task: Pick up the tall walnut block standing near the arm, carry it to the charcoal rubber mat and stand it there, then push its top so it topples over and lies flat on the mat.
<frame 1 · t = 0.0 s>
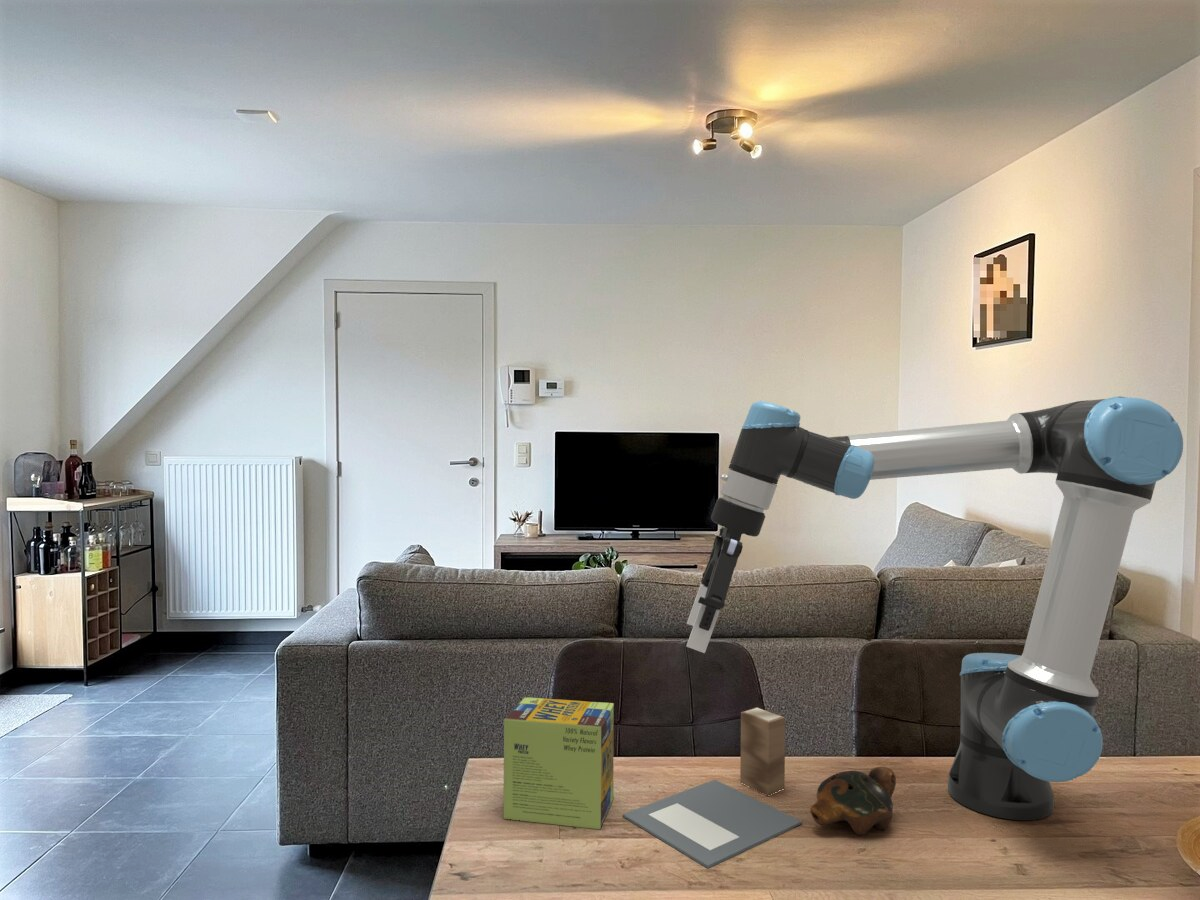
hand: (695, 637, 118), 28 cm above the table, tool tilted 20°, fingers open, 13 cm apart
mat: (711, 820, 119), on the table
decorative turtle: (854, 826, 118), on the table
walnut block: (762, 786, 131), on the table
protein box: (560, 810, 123), on the table
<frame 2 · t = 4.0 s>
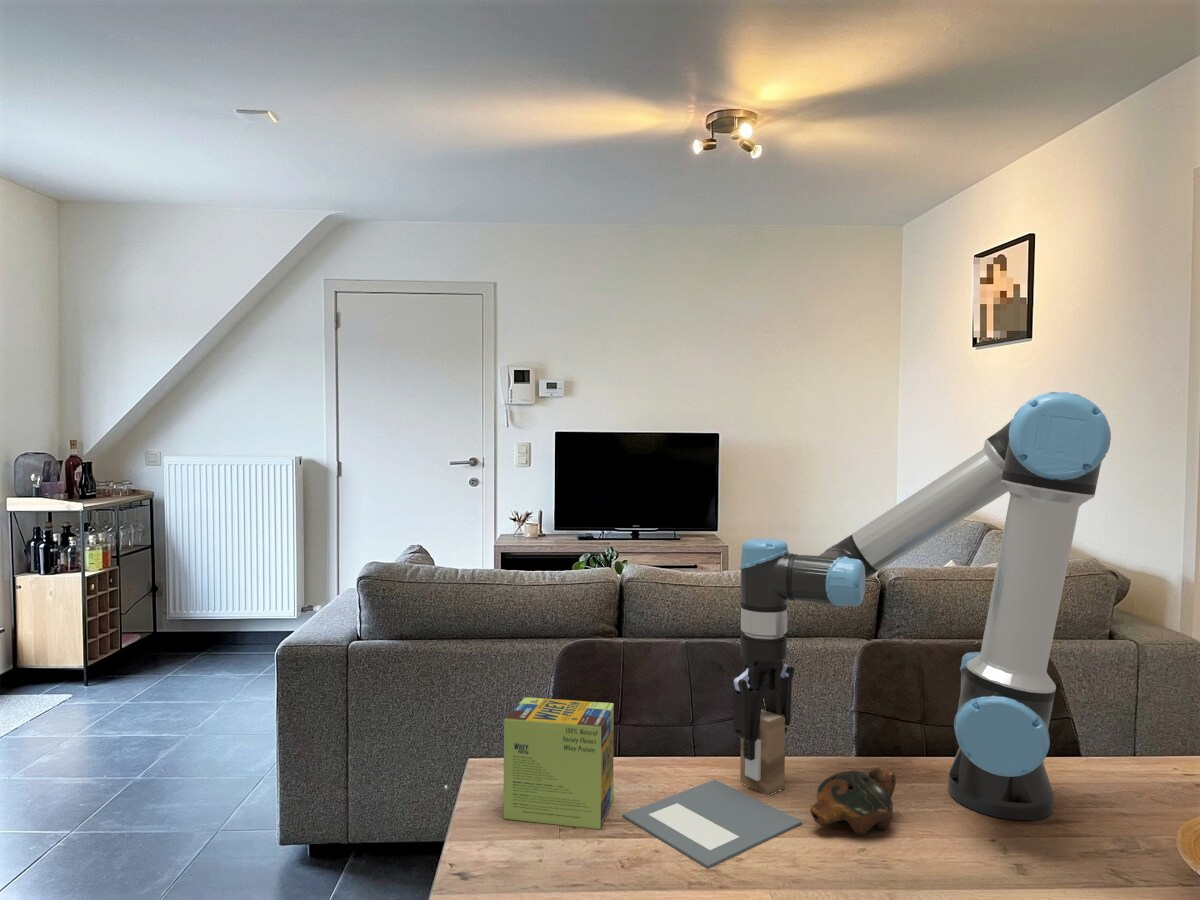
hand: (762, 773, 131), 2 cm above the table, tool pointing down, fingers closed on walnut block, 4 cm apart
walnut block: (762, 786, 131), on the table, touching gripper
everything else where it was.
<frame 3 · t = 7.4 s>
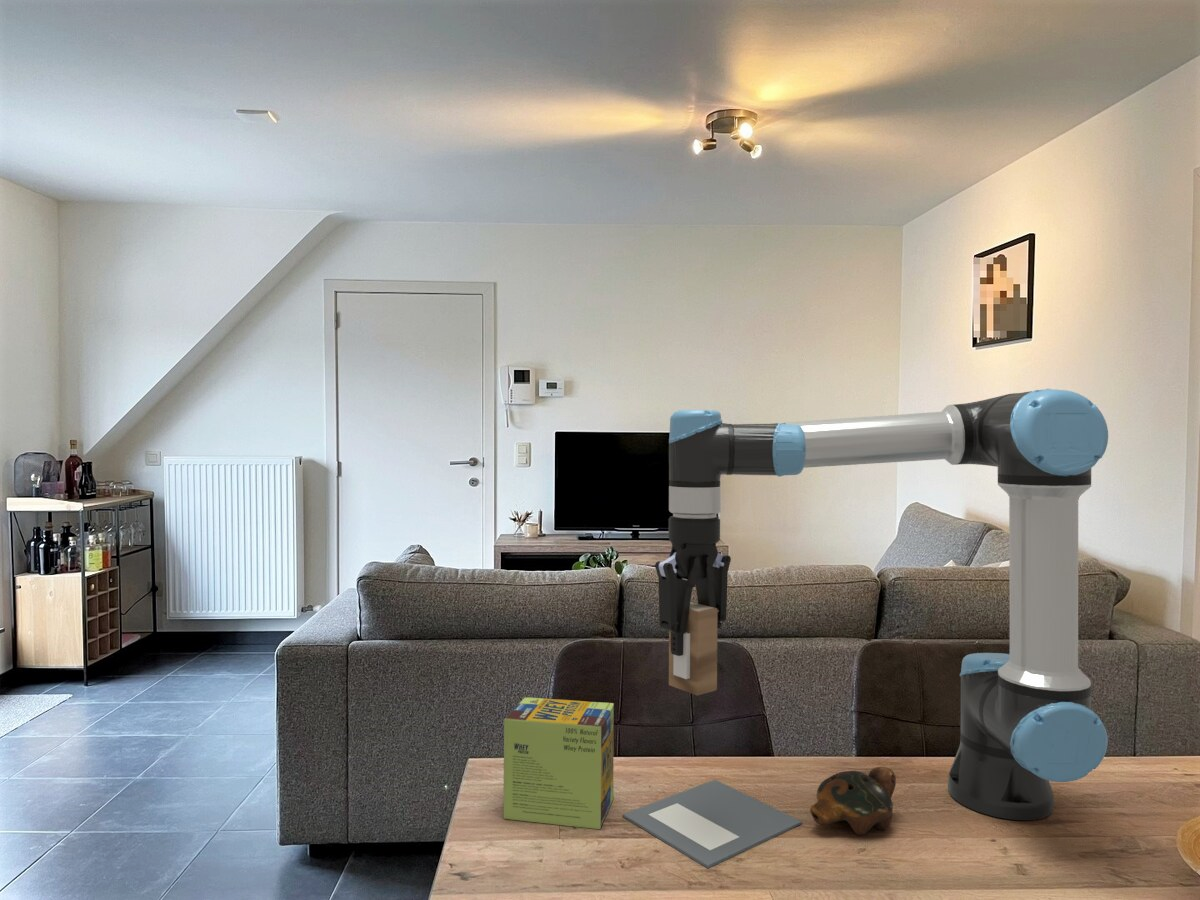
hand: (693, 673, 116), 23 cm above the table, tool pointing down, fingers closed on walnut block, 4 cm apart
walnut block: (692, 687, 116), point 21 cm above the table, touching gripper
everything else where it was.
when the fingers open (3 cm above the table, at t = 11.1 s): walnut block stays where it is, resting on mat.
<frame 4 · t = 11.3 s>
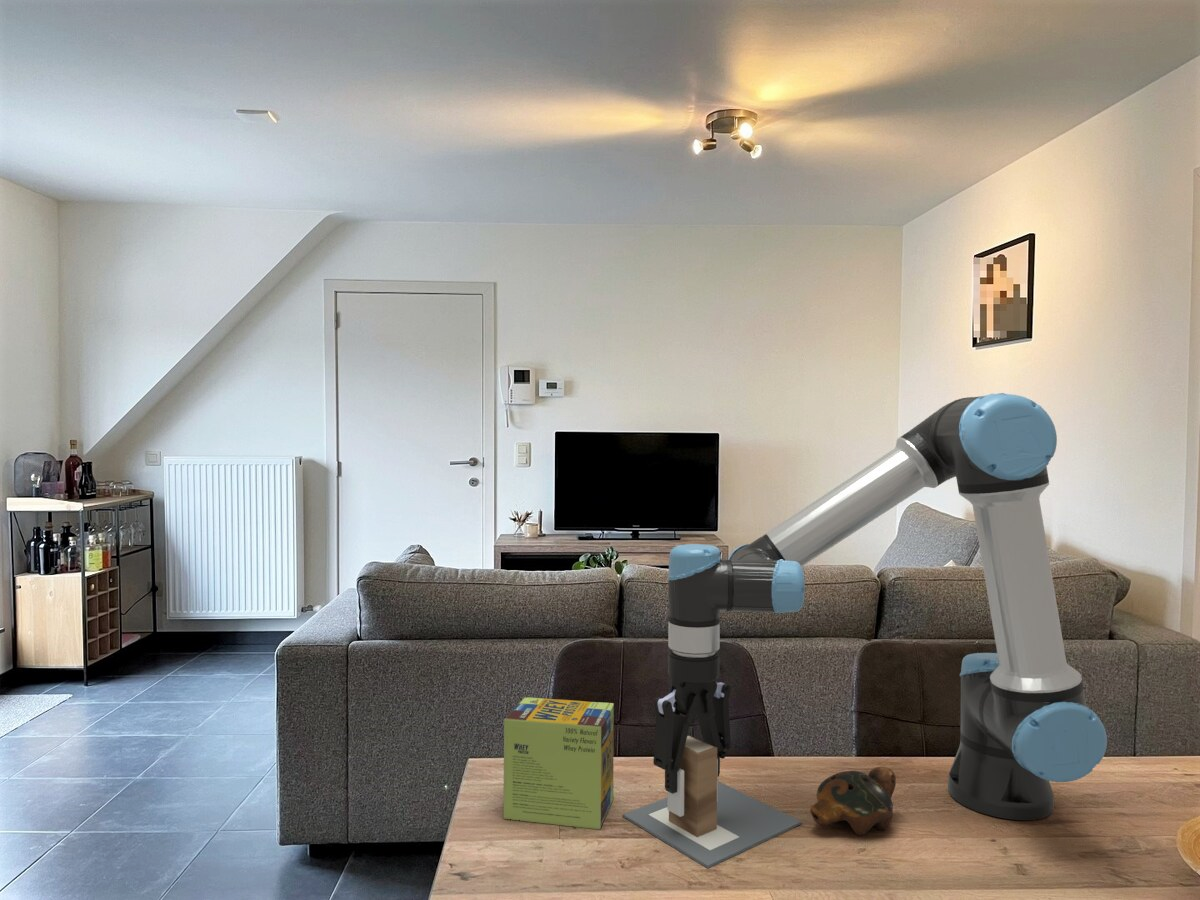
hand: (692, 805, 117), 3 cm above the table, tool pointing down, fingers open, 6 cm apart
walnut block: (692, 825, 117), resting on mat
everything else where it was.
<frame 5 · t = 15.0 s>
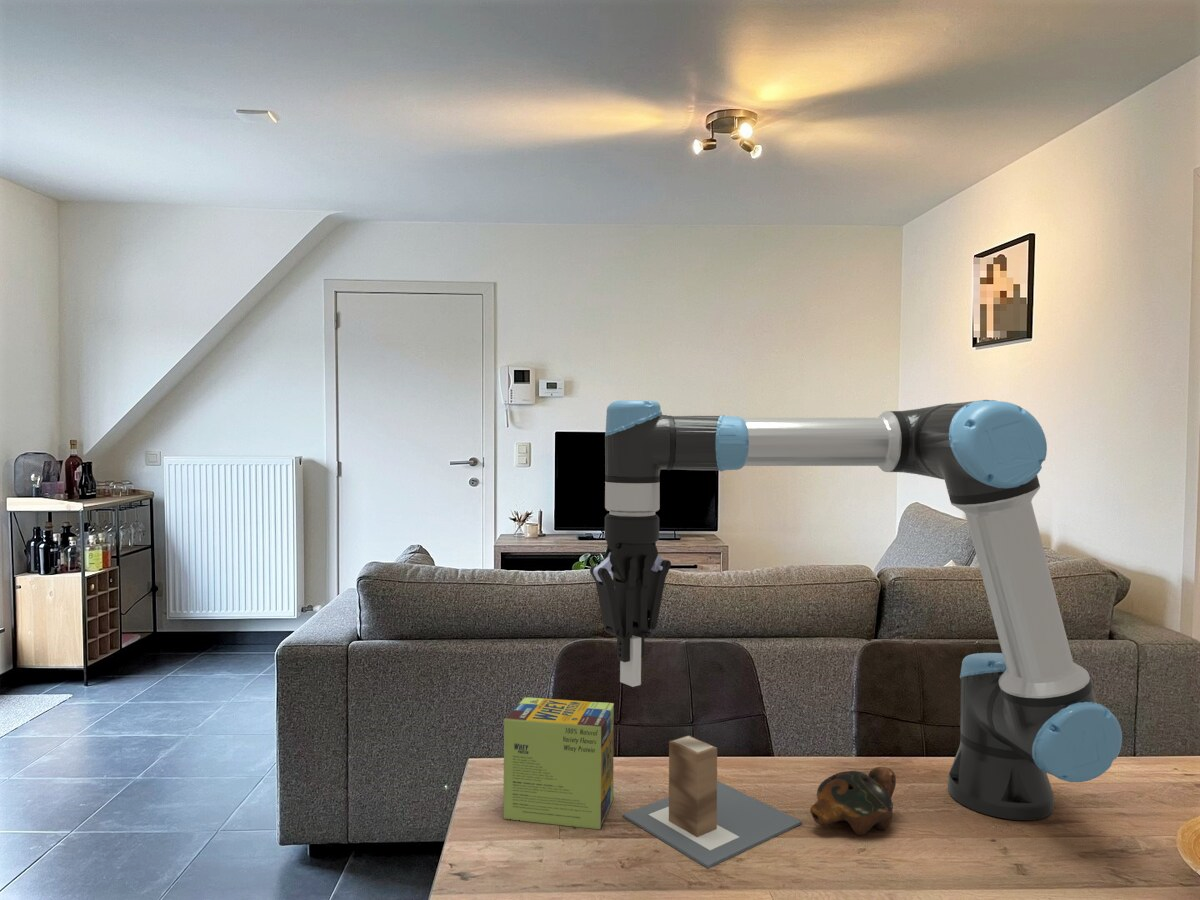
hand: (630, 683, 109), 24 cm above the table, tool pointing down, fingers closed
nothing on the table moved.
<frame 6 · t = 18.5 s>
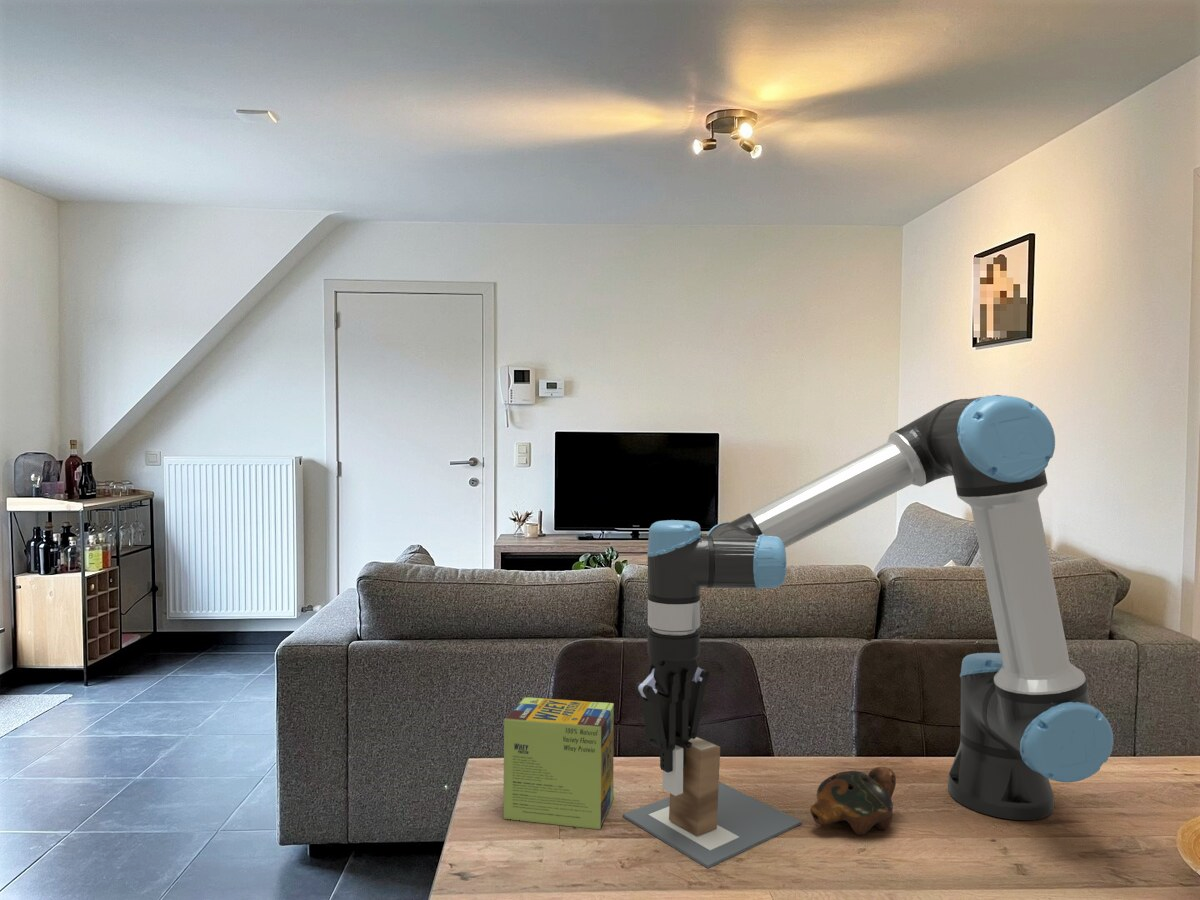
hand: (672, 791, 114), 7 cm above the table, tool pointing down, fingers closed
walnut block: (692, 824, 117), point 1 cm above the table, touching gripper, mat
everything else where it was.
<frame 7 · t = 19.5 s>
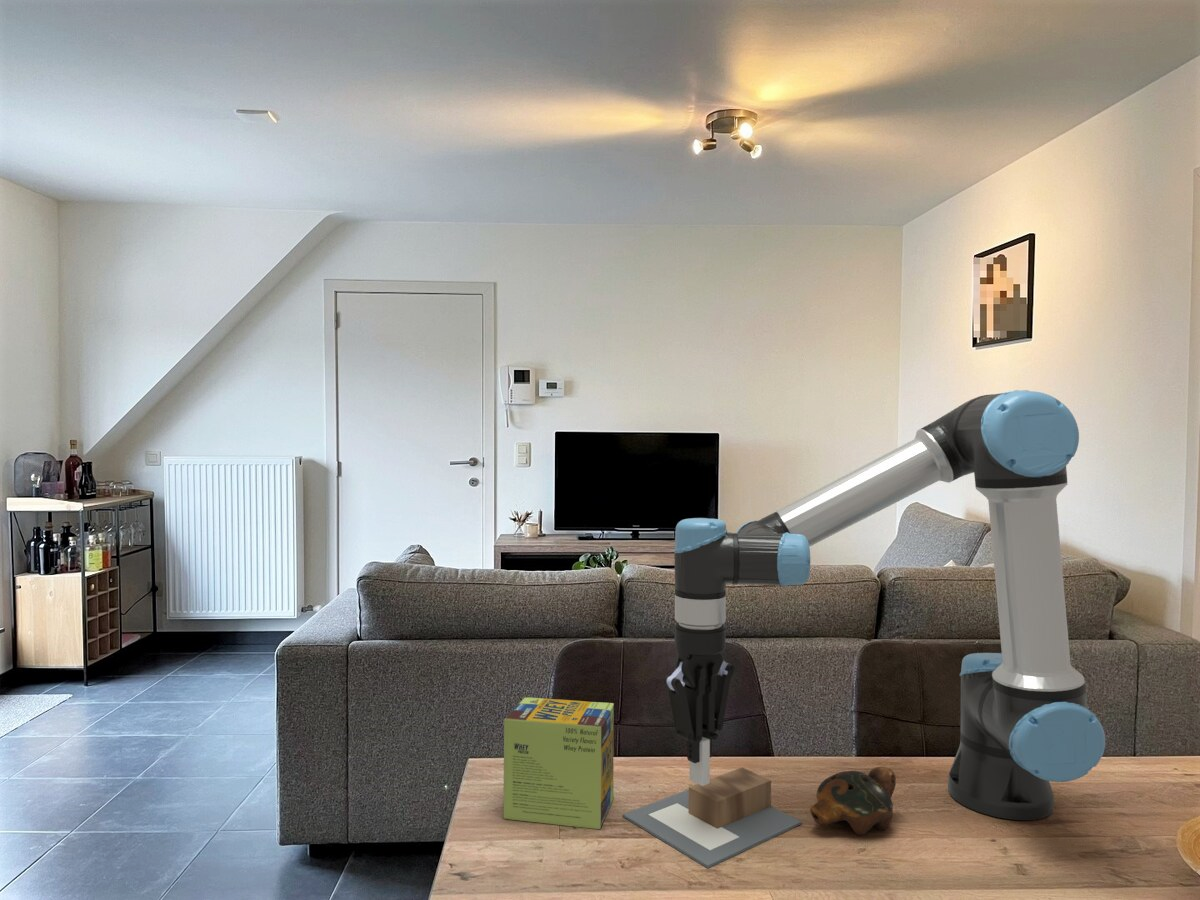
hand: (699, 781, 117), 7 cm above the table, tool pointing down, fingers closed
walnut block: (702, 807, 118), point 2 cm above the table, tilted 90°, touching mat
everything else where it was.
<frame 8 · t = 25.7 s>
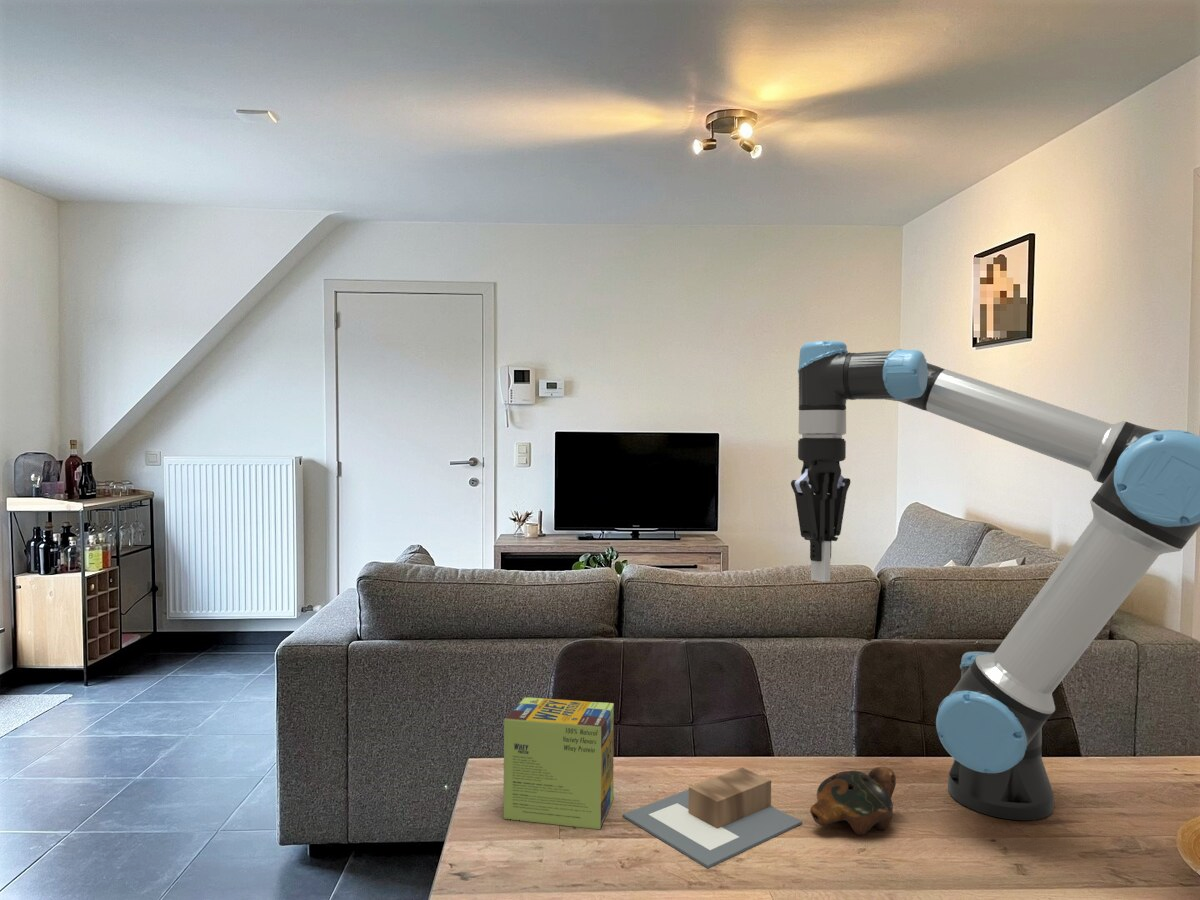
hand: (820, 580, 130), 34 cm above the table, tool pointing down, fingers closed
nothing on the table moved.
at the end: walnut block tilted 90°; walnut block inside the target area (2.9 cm from its centre), point 2.5 cm above the table; the gripper is holding nothing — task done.
